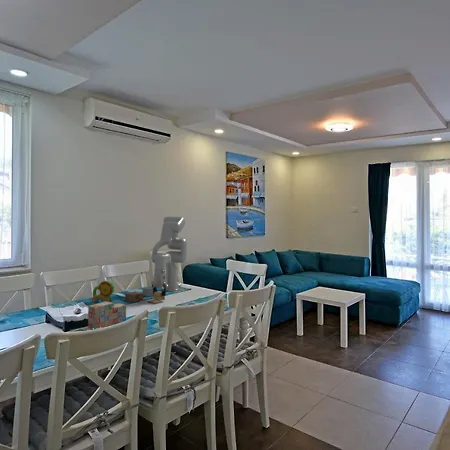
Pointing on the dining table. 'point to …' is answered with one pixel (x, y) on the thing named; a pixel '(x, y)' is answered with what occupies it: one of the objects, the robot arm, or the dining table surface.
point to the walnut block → (134, 296)
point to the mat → (155, 301)
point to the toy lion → (103, 292)
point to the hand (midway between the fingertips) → (159, 295)
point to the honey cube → (158, 296)
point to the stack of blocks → (105, 314)
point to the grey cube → (147, 291)
